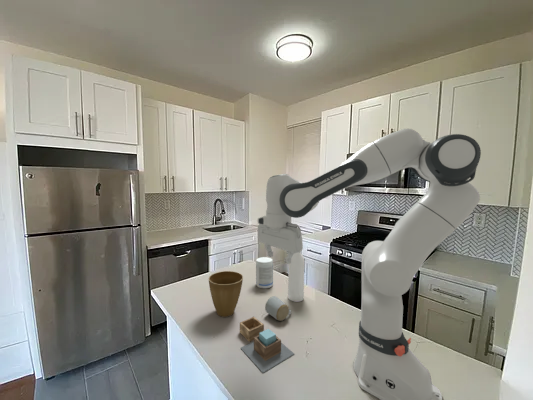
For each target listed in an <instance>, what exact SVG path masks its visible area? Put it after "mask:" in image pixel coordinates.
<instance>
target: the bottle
mask: <svg viewBox="0 0 533 400" xmlns="http://www.w3.org/2000/svg"><path fill="white" fill-rule="evenodd" d="M287 271H288V272H287V274H288V277H287V278H288V279H287V280H288V281H287V282H288V283H287V284H288V285H287V297H288V300H289V301H291V302H302V301H303V300H304V298H305V290H304V289H305V258H304V255H303V254H302V253H301V252H298V253H294V254H293V256H292V258H291V263H290V264H288V270H287Z"/></svg>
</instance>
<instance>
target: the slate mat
mask: <svg viewBox="0 0 533 400" xmlns="http://www.w3.org/2000/svg"><path fill="white" fill-rule="evenodd" d="M240 350H242V352H243V353H244V354H245V355H246V356H247V358H248V359H249V360H250V361H251V362H252V363H253V365H255V366H256V368H257V369H258V370H259V371H260V372H261V373H262V374H265V373H267V372H268V371H270V370H271V369H273V368H274V367H276V366H278V365H280V364H281V363H283V362H285V361H286V360H288V359H289V358H291V357H293V356H294V355H295V353H294V352H293V351H292V350H291V349H290V348H289V347H288V346H286V345H285V343H283V342H281V352H280V353H279V354H277V355H275V356H273V357H272V358H270V359H268V360H266V361H265V360H264V359H263V358H262V357H261V356H260V355H259V354H258V353H257V352H256V351H255V350H254V341H251V342H249V343H248V344H245V345H244V346H241V347H240Z"/></svg>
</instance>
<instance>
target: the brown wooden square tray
mask: <svg viewBox="0 0 533 400" xmlns="http://www.w3.org/2000/svg"><path fill="white" fill-rule="evenodd" d="M253 342H254V350H255V351H256V352H257V353H258V354H259V355H260V356H261V357H262V358H263V359H264V360H265V361H266V360H268V359H270V358H272V357H273V356H275V355H277V354H279V353H280V352H281V343H282V340H281V338H279V337H278V336H277V335H276V342H274V343H272V344H270V345H268V346H265V345H264V344H262V343H261V342H260V341H259V335H258V336H256V337H254V340H253Z"/></svg>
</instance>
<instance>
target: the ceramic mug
mask: <svg viewBox="0 0 533 400" xmlns="http://www.w3.org/2000/svg"><path fill="white" fill-rule="evenodd" d="M264 307H265V308H264V310H265V312H266V313H267V314H268V315H270V316H271V317H273V318H274V319H275V320H277V321H280V322H282V321H284V320H286V319H287V317H288V316H289V315H291V313H292V310H291V309H290V308H289V306H288V304H287V303H285V302H284V301H283V300H282V299H280V298H279V297H278V296H276V295H274V296H271V297H268V299H267V301H265V306H264Z"/></svg>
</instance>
